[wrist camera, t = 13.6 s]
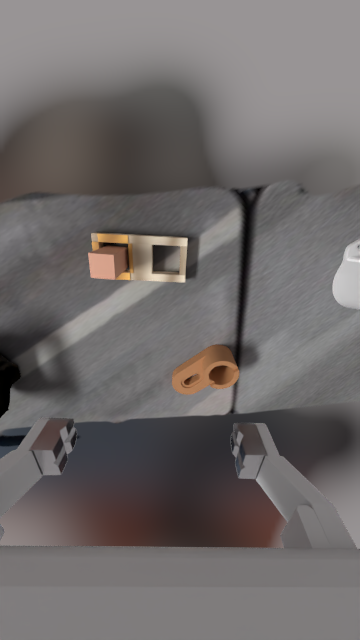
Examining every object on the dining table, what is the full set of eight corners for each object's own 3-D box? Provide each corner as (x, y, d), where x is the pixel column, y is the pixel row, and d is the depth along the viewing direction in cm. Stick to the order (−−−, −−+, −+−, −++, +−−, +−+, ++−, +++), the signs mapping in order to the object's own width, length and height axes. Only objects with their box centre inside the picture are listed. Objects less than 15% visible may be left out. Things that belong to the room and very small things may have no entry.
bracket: (220, 338, 52) (226, 354, 46) (238, 359, 55) (245, 377, 49) (166, 374, 57) (164, 393, 51) (185, 391, 60) (185, 411, 53)
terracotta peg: (127, 247, 42) (113, 254, 33) (128, 267, 44) (115, 279, 35) (107, 245, 42) (88, 252, 33) (109, 265, 43) (90, 277, 34)
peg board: (187, 237, 41) (187, 238, 39) (184, 279, 45) (184, 282, 42) (95, 232, 41) (90, 233, 38) (100, 275, 44) (96, 278, 42)
